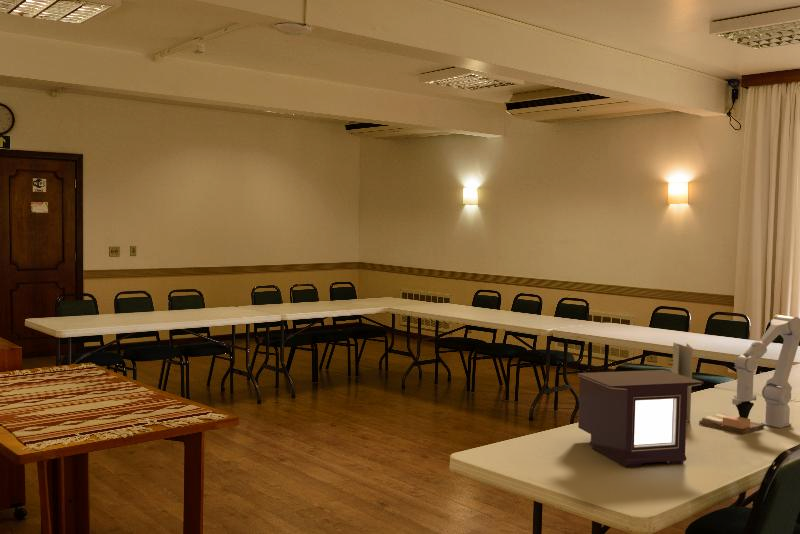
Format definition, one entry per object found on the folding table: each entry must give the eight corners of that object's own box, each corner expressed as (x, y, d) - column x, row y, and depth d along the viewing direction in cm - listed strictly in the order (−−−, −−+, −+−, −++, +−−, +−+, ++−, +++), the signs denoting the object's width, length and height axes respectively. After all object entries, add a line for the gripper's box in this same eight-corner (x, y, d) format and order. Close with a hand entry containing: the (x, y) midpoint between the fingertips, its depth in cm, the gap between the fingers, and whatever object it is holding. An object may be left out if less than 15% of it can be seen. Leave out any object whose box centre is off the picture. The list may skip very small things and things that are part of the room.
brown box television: (702, 463, 261) (705, 382, 260) (609, 470, 252) (611, 386, 251) (642, 435, 295) (645, 364, 294) (558, 440, 286) (560, 367, 284)
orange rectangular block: (730, 422, 310) (731, 415, 310) (749, 426, 304) (750, 419, 304) (722, 424, 306) (722, 417, 306) (741, 429, 300) (742, 421, 300)
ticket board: (721, 418, 323) (721, 412, 323) (763, 428, 309) (763, 421, 308) (699, 424, 313) (699, 417, 313) (742, 434, 299) (742, 427, 299)
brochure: (690, 422, 317) (692, 348, 315) (675, 421, 318) (678, 347, 316) (684, 413, 331) (687, 343, 329) (671, 413, 332) (673, 342, 330)
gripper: (745, 382, 315) (743, 415, 316) (725, 386, 306) (724, 420, 307) (762, 385, 309) (760, 419, 310) (742, 389, 301) (741, 424, 301)
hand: (743, 420), depth 308 cm, fingers closed
